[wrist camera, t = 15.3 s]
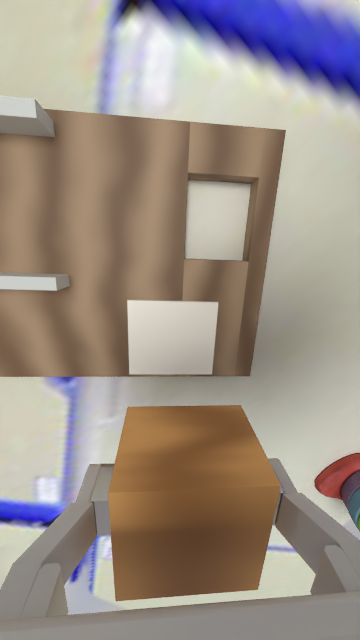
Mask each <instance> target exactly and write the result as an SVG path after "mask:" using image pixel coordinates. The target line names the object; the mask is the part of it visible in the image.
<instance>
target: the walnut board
mask: <svg viewBox="0 0 360 640" xmlns="http://www.w3.org/2000/svg"><path fill="white" fill-rule="evenodd" d="M44 111H45V112H46V113H47V114H48V115H49V116H50V118H51V119H52V120H53V123H54V133H55V137H45V136H32V135H19V134H7V133H0V272H9V273H39V274H69V283H70V286H68V287H66V288H63V289H60V290H57V291H51V290H15V289H0V377H70V376H250V372H251V365H252V358H253V352H254V345H255V338H256V331H257V324H258V317H259V310H260V304H261V297H262V290H263V283H264V276H265V269H266V262H267V256H268V249H269V242H270V235H271V228H272V221H273V214H274V207H275V201H276V194H277V187H278V180H279V173H280V166H281V159H282V153H283V146H284V139H285V132H286V130H277V129H266V128H255V127H243V126H232V125H221V124H209V123H198V122H186V121H175V120H164V119H152V118H141V117H129V116H118V115H107V114H95V113H84V112H73V111H61V110H50V109H44ZM188 179H194V180H208V181H223V182H238V183H251V191H250V200H249V209H248V217H247V226H246V235H245V243H244V252H243V260H242V261H231V260H206V259H184V253H185V231H186V208H187V185H188ZM127 300H167V301H207V302H219V303H218V314H217V325H216V336H215V347H214V358H213V369H212V374H129V345H128V310H127Z"/></svg>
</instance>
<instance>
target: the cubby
mask: <svg viewBox="0 0 360 640" xmlns="http://www.w3.org/2000/svg"><path fill="white" fill-rule="evenodd" d="M0 133H7V134H19V135H32V136H45V137H55V133H54V123H53V120H52V119H51V118H50V116H49V115H48V114H47V113H46V112H45V111H44V109H43V108H42V107H41V106H40V105H39V103H38V102H37V101H36V100H35V99H34V98H23V97H12V96H1V95H0ZM68 286H70V283H69V274H39V273H9V272H0V289H15V290H51V291H57V290H60V289H63V288H66V287H68Z"/></svg>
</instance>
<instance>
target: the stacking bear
mask: <svg viewBox="0 0 360 640" xmlns="http://www.w3.org/2000/svg"><path fill="white" fill-rule="evenodd" d="M315 487H316V489H317V490H318V491H319V492H320V493H321V494H323V495H324V496H327V497H332V498H338V499H341V500H343V501H344V504H345V506H346V508H347V509H348V511H349V514H350V516H351V518H352V520H353V521H354V523H355V525H356V527H357V528H358V530H359V531H360V454H353V455H350V456H347V457H345V458H343V459H341V460H339V461H337V462H335V463H333V464H332V465H330V466H329V467H328V468H326V469H325V470H324V471H323V472H322V473H321V474H320V475H319V476H318V477H317V479H316V480H315Z"/></svg>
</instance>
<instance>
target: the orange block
mask: <svg viewBox="0 0 360 640" xmlns="http://www.w3.org/2000/svg"><path fill="white" fill-rule="evenodd" d="M280 489H281V484H280V482H279V480H278V478H277V476H276V474H275V472H274V470H273V468H272V466H271V464H270V463H269V461H268V459H267V457H266V455H265V453H264V451H263V449H262V447H261V445H260V443H259V441H258V439H257V437H256V435H255V433H254V431H253V429H252V427H251V425H250V423H249V421H248V419H247V417H246V415H245V413H244V411H243V409H242V407H241V405H233V406H158V407H128V408H127V412H126V417H125V421H124V426H123V430H122V434H121V439H120V443H119V447H118V452H117V456H116V460H115V465H114V469H113V474H112V478H111V482H110V487H109V491H108V500H109V514H110V528H111V542H112V556H113V571H114V585H115V599H116V601H124V600H136V599H148V598H161V597H173V596H185V595H198V594H210V593H223V592H235V591H247V590H258V586H259V582H260V577H261V573H262V569H263V564H264V560H265V555H266V551H267V546H268V542H269V537H270V533H271V529H272V524H273V520H274V515H275V511H276V506H277V502H278V498H279V493H280Z"/></svg>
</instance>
